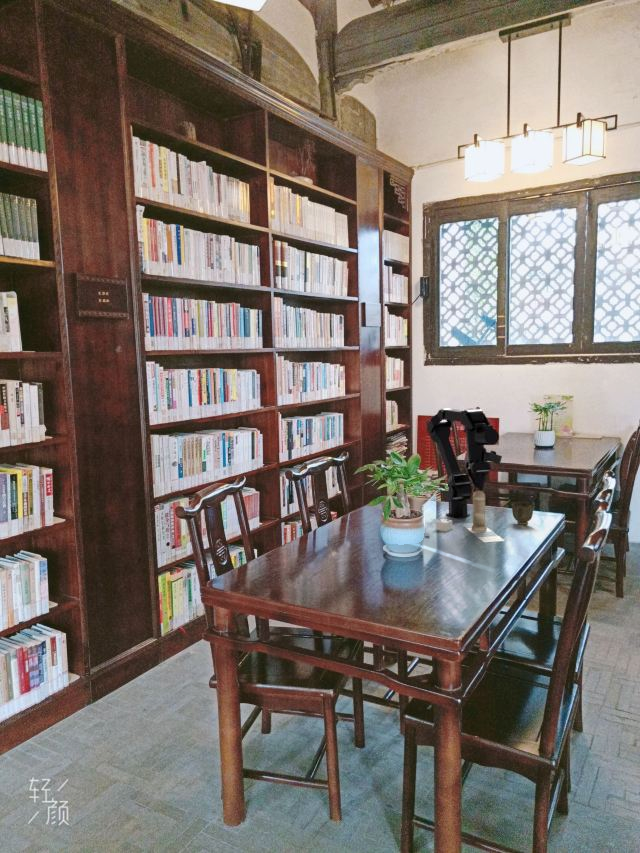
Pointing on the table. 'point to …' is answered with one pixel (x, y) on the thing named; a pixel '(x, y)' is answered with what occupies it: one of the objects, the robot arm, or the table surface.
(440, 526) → the die
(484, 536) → the board
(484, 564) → the table surface
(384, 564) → the table surface
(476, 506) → the round-topped post
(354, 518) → the table surface
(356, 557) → the table surface
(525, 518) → the cup
